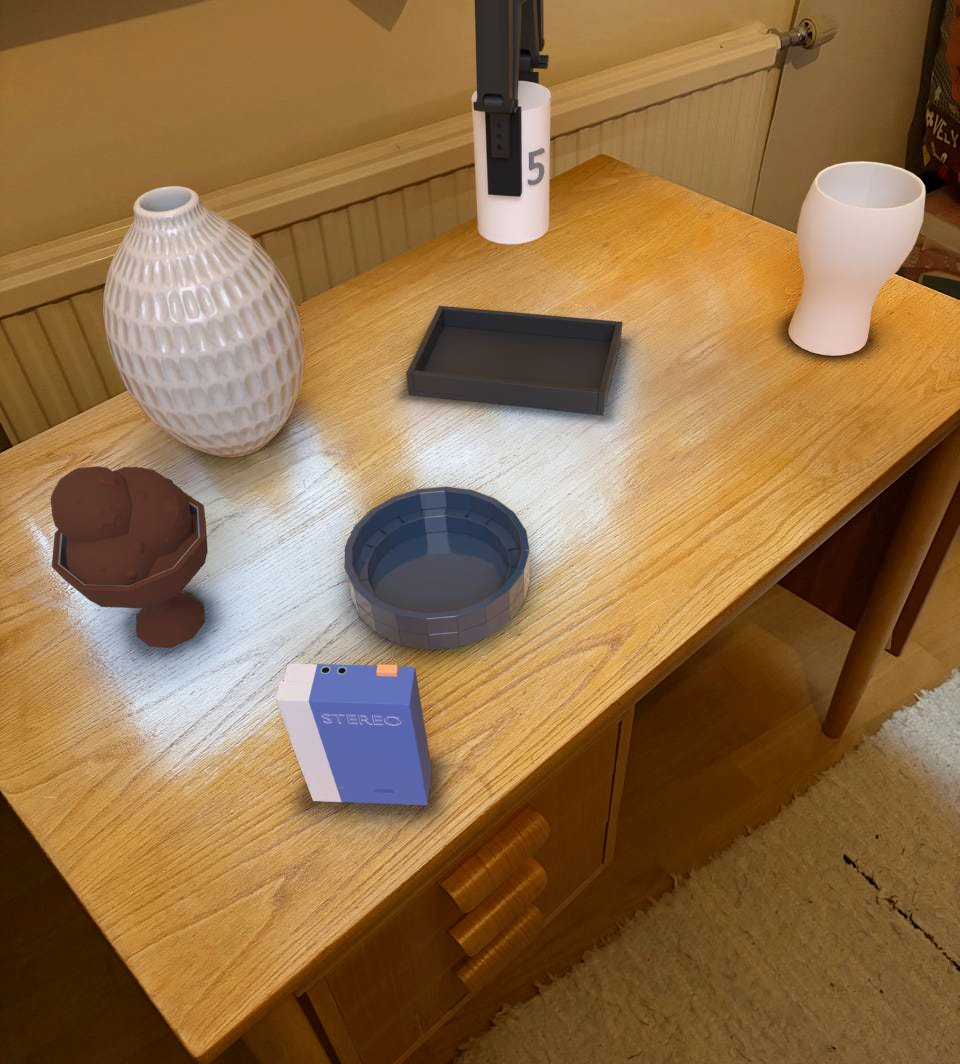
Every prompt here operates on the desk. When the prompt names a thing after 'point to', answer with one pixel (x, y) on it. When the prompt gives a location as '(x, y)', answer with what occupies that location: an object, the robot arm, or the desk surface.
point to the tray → (517, 359)
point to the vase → (202, 326)
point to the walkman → (357, 732)
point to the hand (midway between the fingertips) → (513, 174)
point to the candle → (531, 210)
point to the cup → (852, 250)
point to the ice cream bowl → (132, 547)
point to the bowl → (438, 567)
